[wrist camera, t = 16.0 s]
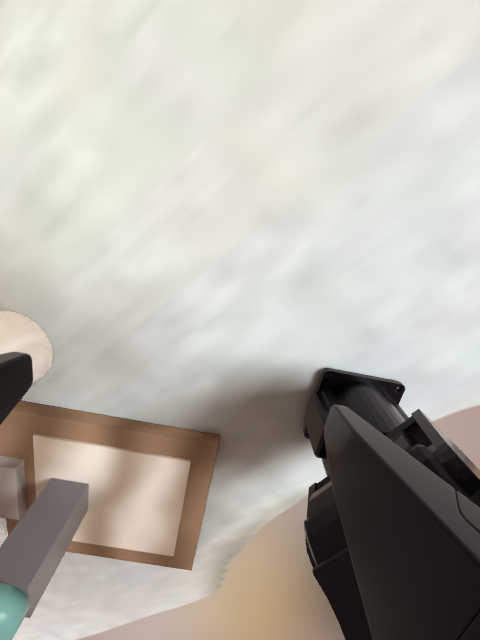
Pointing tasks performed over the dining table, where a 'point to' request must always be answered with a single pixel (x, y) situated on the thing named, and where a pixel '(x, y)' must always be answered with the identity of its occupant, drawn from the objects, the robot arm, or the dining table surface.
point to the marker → (38, 549)
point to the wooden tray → (111, 480)
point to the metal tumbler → (26, 341)
